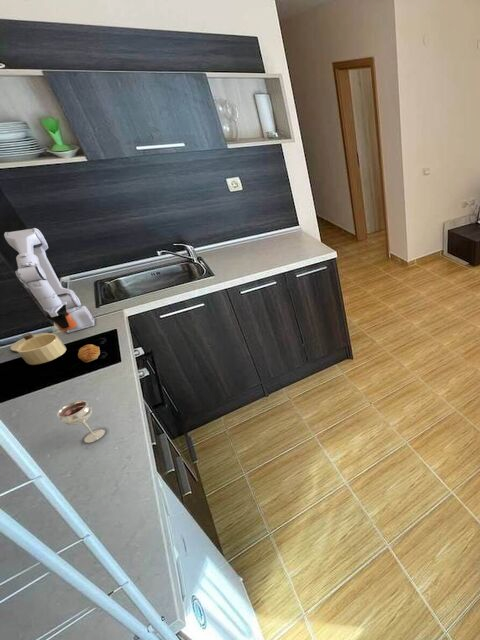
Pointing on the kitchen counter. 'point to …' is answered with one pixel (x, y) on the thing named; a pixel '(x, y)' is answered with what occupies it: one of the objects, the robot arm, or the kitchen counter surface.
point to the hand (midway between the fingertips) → (66, 324)
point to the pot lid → (25, 337)
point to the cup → (70, 321)
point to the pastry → (88, 353)
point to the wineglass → (79, 418)
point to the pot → (41, 349)
